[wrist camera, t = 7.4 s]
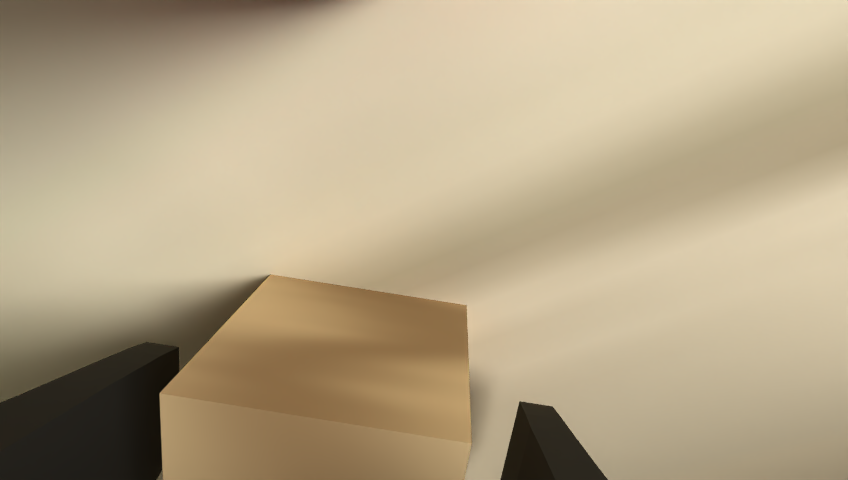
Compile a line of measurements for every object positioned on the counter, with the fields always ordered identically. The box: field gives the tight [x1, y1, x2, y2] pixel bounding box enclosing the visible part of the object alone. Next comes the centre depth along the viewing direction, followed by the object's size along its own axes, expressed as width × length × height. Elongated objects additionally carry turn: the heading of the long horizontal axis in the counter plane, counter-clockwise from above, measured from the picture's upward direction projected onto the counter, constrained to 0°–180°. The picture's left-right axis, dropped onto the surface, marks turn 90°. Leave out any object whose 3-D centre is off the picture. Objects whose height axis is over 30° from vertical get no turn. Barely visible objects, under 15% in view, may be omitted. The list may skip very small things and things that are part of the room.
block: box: [160, 275, 472, 480], centre depth 9 cm, size 4×4×4 cm
